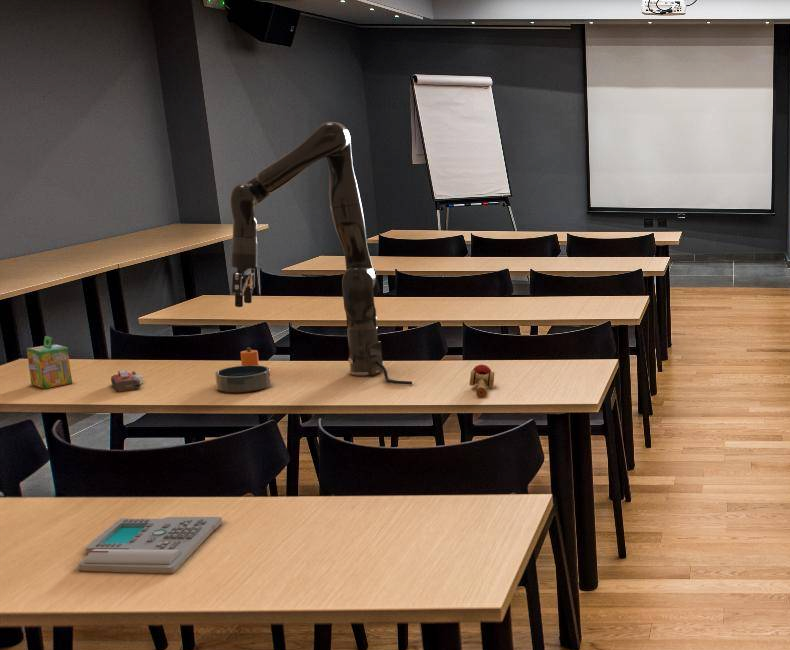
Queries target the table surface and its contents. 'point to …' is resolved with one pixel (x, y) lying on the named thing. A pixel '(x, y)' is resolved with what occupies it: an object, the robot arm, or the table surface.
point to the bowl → (243, 378)
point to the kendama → (482, 379)
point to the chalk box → (49, 365)
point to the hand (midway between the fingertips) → (243, 304)
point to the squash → (249, 357)
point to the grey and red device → (126, 381)
